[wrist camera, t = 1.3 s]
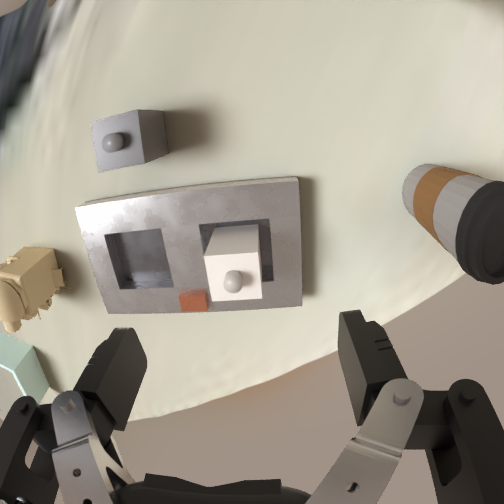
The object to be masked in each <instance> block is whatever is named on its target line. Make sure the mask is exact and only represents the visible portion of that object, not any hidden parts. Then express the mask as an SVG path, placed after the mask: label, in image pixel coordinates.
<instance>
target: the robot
mask: <svg viewBox="0 0 504 504" xmlns="http://www.w3.org/2000/svg"><path fill="white" fill-rule="evenodd" d="M62 268H63V267H62ZM62 268H61V269H62ZM61 269H58V265H57V261H56V257H55V252H54V248H35V247H23V248H22V249H21V250H20V251H18V252H17V253H16V254H15V255H14V256H12V257H10V256H9V257H7V260H6V264H5V263H3V264H0V320H1V321H3V322H4V325H5V328H6V330H7V331H8V332H11V333H13V332H16V331H18V330H19V329H20V327H21V325H22V324H21V321H20V319H25V320H30V319H31V318H32V317H35V316H36V315H37V313H38V315H39V311H38V309H43V310H48V308H49V307H50V306H51V304H52V300H51V297H52V296H53V294H54V293H55V294H56V293H59V290H60V287H63V288H66V287H64V285H65V283H66V281H65V283H64V282H63V276H62V270H61ZM67 288H68V287H67ZM71 288H72V287H71ZM71 288H69V289H71ZM48 306H49V307H48ZM39 318H40V315H39ZM40 319H41V318H40Z"/></svg>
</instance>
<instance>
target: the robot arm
mask: <svg viewBox="0 0 504 504" xmlns="http://www.w3.org/2000/svg"><path fill="white" fill-rule="evenodd" d="M338 354H339V358H340V362H341V366H342V370H343V373H344V377H345V380H346V384H347V388H348V392H349V396H350V399H351V403H352V407H353V411H354V415H355V419H356V423H357V426H361V428H360V430H359V432H358V433H357V435H356V436H355V437H354V438H352V439H351V440H350V441H349V442H348V444H347V445H346V447H345V448H344V450H343V452H342V453H341V455H340V456H339V458H338V459H337V461H336V462H335V464H334V465H333V466H332V468H331V470H330V471H329V472H328V474H327V475H326V477H325V478H324V479H323V481H322V482H321V483H320V485H319V486H318V487H317V489H316V490H315V492H314V493H313V494H312V495H310V494H308V493H306V492H303V491H301V490H298V489H294V488H290V487H284V486H282V485H281V480H280V479H271V480H244V481H240V482H235V483H230V484H225V485H220V486H214V487H205V486H202V485H199V484H195V483H192V482H189V481H186V480H183V479H180V478H177V477H170V476H162V475H154V474H148V473H146V475H145V479H144V481H141V482H135V480H134V479H133V478H132V476H131V475H130V473H129V471H128V470H127V467H126V465H125V463H124V461H123V459H122V457H121V454H120V452H119V450H118V447H117V445H116V443H115V440H114V438H113V437H112V435H111V434H112V431H113V430H120V431H124V429H125V427H126V424H127V421H128V418H129V415H130V413H131V410H132V407H133V404H134V402H135V399H136V396H137V393H138V391H139V388H140V385H141V383H142V380H143V377H144V375H145V372H146V369H147V358H146V355H145V352H144V350H143V348H142V346H141V343H140V341H139V339H138V336H137V334H136V332H135V330H134V329H133V328H115V329H114V330H113V331H112V333H111V335H110V336H109V338H108V340H105V341H104V342H103V343H101V344H100V345H99V346H98V347H97V348H96V350H95V352H94V353H93V355H92V358H91V359H90V360H89V362H88V366H86V367H85V369H84V371H83V373H82V374H81V376H80V378H79V380H78V382H77V384H76V385H75V387H74V389H73V391H72V390H71V391H65V392H63V393H61V394H59V395H58V396H57V397H56V398H55V399H54V401H53V403H52V404H43V405H39V404H38V403H37V402H36V400H35V399H34V398H33V397H31V396H23V397H20V398H19V399H17V400H16V401H15V402H14V403H13V405H12V407H11V409H10V410H9V412H8V414H7V416H6V418H5V420H4V422H3V424H2V426H1V428H0V504H54V501H55V498H56V495H57V491H58V488H59V486H60V490H61V493H62V496H63V500H64V502H65V504H377V502H378V500H379V499H380V497H381V495H382V493H383V491H384V490H385V488H386V486H387V484H388V482H389V481H390V478H391V477H392V475H393V473H394V471H395V469H396V467H397V465H398V463H399V460H400V458H401V456H402V455H401V454H402V452H403V449H425V451H426V455H427V459H428V463H429V466H430V470H431V474H432V478H433V483H434V487H435V491H436V496H437V500H438V504H504V430H503V428H502V425H501V423H500V421H499V419H498V417H497V415H496V412H495V410H494V408H493V406H492V404H491V402H490V400H489V398H488V396H487V394H486V392H485V390H484V388H483V387H482V386H481V385H480V384H479V383H478V382H476V381H473V380H470V379H462V380H458V381H456V382H454V383H453V384H452V385H451V387H450V389H449V391H428V390H423V389H422V388H421V387H420V386H419V385H418V384H417V383H416V382H414V381H412V380H409V379H408V378H407V376H406V374H405V372H404V369H403V367H402V365H401V363H400V361H399V359H398V356H397V355H396V352H395V350H394V349H393V346H392V344H391V342H390V340H389V338H388V336H387V334H386V332H385V330H384V328H383V327H381V326H380V325H379V324H378V323H376V322H375V321H370V322H366V321H365V319H364V317H363V315H362V313H361V311H360V310H353V311H346V312H340V314H339V331H338ZM32 440H33V441H34V442H35V443H36V444H37V445H38V449H37V451H36V454H35V456H34V459H33V462H32V464H31V467H30V469H29V468H28V467H27V466H26V464H25V456H26V453H27V451H28V448H29V446H30V444H31V442H32Z"/></svg>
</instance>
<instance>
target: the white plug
mask: <svg viewBox="0 0 504 504" xmlns="http://www.w3.org/2000/svg"><path fill="white" fill-rule="evenodd" d="M204 260H205V266H206V271H207V277H208V282H209V288H210V293H211V298H212V301H230V300H247V299H262V260H261V249H260V238H259V227H258V224H254V225H241V226H229V227H218V228H215V229H214V231H213V234H212V236H211V239H210V241H209V244H208V247H207V249H206V252H205V255H204Z"/></svg>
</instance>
